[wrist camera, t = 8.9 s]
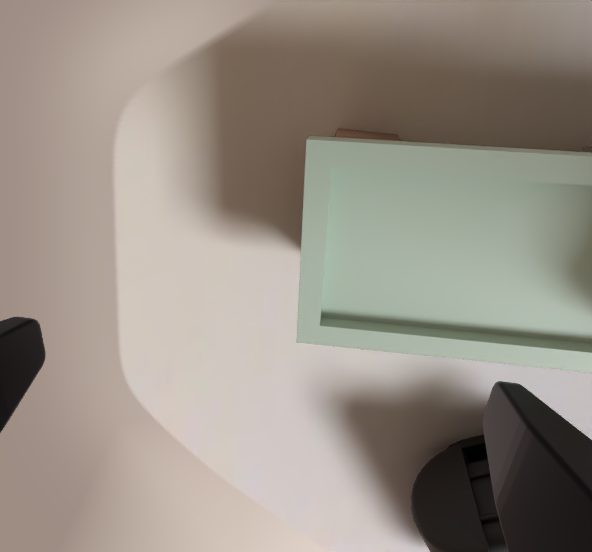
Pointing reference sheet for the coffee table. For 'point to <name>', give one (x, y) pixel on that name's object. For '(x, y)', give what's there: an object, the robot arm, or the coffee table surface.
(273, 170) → the coffee table surface
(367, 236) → the green rimmed tray
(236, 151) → the coffee table surface
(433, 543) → the end cap
